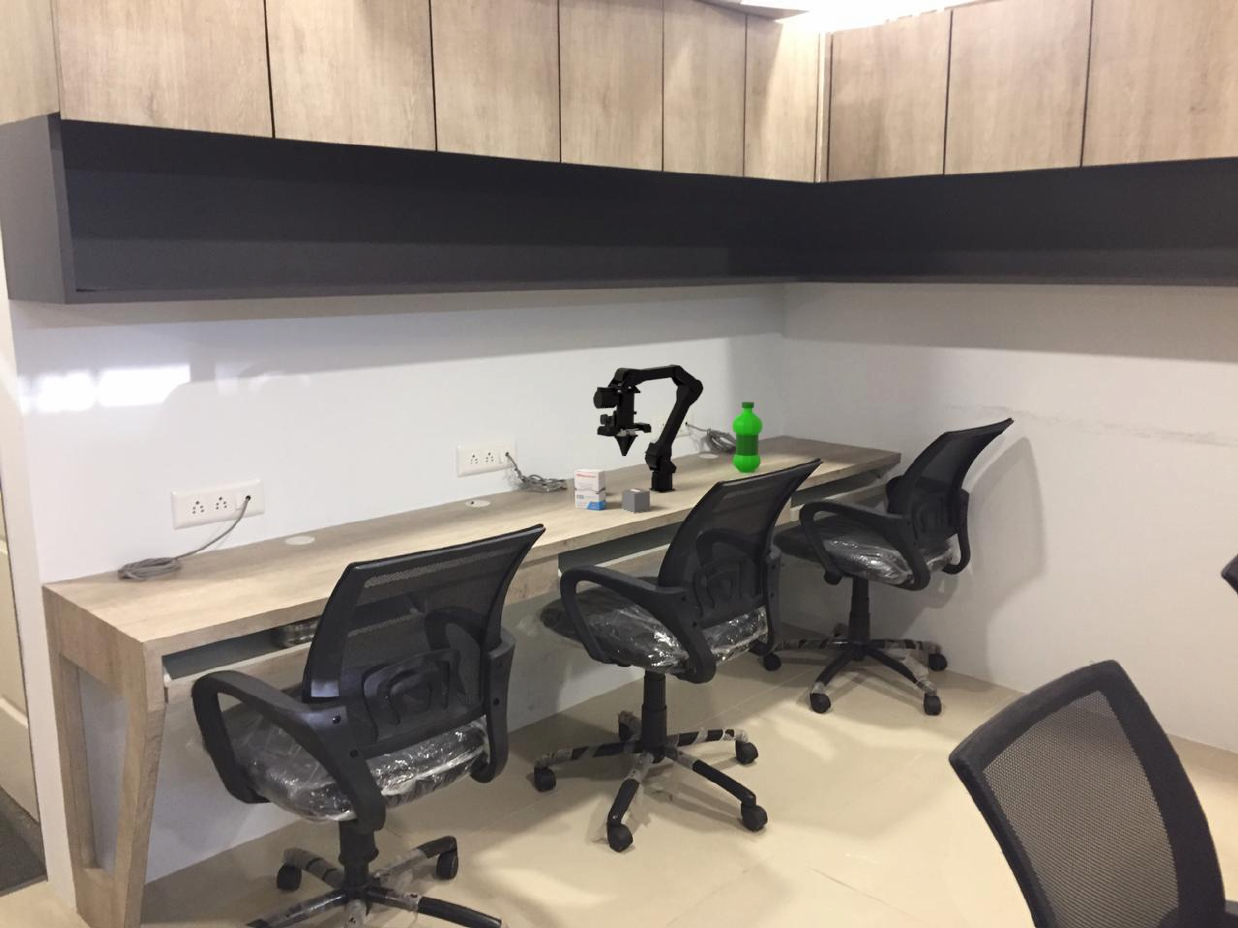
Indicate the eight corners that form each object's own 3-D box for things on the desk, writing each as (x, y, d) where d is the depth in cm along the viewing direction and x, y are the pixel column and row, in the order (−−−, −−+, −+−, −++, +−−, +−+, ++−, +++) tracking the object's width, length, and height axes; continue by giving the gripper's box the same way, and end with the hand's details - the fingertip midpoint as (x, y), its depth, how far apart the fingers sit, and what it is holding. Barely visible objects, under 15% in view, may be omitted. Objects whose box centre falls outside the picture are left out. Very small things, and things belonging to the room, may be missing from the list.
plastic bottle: (761, 474, 351) (763, 404, 346) (731, 473, 352) (733, 404, 347) (761, 468, 360) (762, 400, 356) (731, 468, 362) (733, 400, 357)
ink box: (606, 507, 302) (606, 469, 300) (598, 511, 298) (598, 472, 296) (582, 504, 306) (581, 467, 304) (574, 508, 302) (573, 470, 300)
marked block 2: (637, 507, 303) (637, 487, 302) (649, 510, 298) (649, 490, 297) (621, 509, 299) (621, 490, 298) (634, 513, 295) (634, 493, 294)
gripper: (630, 403, 325) (628, 450, 328) (586, 406, 313) (585, 455, 316) (653, 407, 317) (651, 454, 320) (609, 410, 305) (608, 460, 308)
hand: (624, 456), depth 316 cm, fingers closed
